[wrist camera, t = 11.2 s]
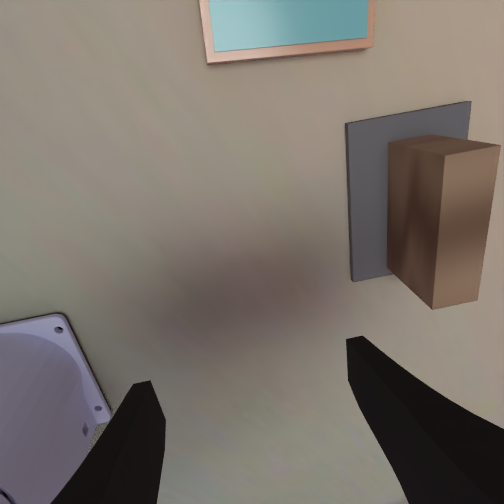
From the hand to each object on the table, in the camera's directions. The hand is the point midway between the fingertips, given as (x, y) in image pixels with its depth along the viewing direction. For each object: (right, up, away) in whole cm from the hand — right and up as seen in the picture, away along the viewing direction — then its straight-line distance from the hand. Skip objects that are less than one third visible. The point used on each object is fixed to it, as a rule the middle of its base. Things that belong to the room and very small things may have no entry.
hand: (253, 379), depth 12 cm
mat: (+9, +8, +9) cm, 15 cm away
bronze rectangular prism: (+9, +7, +8) cm, 15 cm away
